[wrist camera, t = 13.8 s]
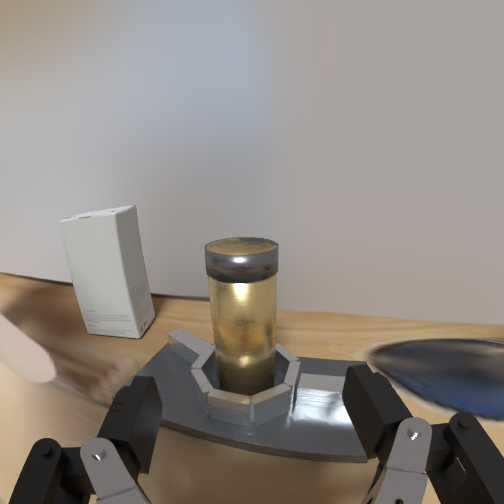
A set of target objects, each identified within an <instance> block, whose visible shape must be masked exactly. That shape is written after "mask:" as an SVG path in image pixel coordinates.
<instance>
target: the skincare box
mask: <svg viewBox="0 0 504 504" xmlns="http://www.w3.org/2000/svg"><path fill="white" fill-rule="evenodd" d="M60 224H61V230H62V236H63V241H64V246H65V251H66V256H67V260H68V265H69V270H70V274H71V278H72V282H73V286H74V289H75V293H76V296H77V300H78V303H79V307H80V310H81V313H82V316H83V319H84V323H85V325H86V329H87V332H88V333H89V334H97V335H107V336H117V337H128V338H141V337H142V335H143V333H144V332H145V330H146V329H147V328H148V327H149V325H150V324H151V323H152V321H153V320H154V318H155V317H154V316H155V312H154V308H153V303H152V299H151V294H150V289H149V284H148V280H147V274H146V269H145V264H144V257H143V252H142V245H141V239H140V233H139V226H138V219H137V211H136V205H134V206H125V207H118V208H111V209H104V210H98V211H91V212H84V213H81V214H78V215H75V216H72V217H69V218H66V219H63V220H61V221H60Z"/></svg>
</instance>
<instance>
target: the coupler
mask: <svg viewBox="0 0 504 504" xmlns="http://www.w3.org/2000/svg"><path fill="white" fill-rule="evenodd" d="M205 260H206V273H207V275H208V280H209V292H210V305H211V316H212V326H213V336H214V346H215V355H216V364H217V373H218V381H219V389H220V390H221V391H226V392H231V393H236V394H241V395H246V396H252V395H255V394H258V393H260V392H263V391H266V390H268V389H271V388H273V387H274V376H275V341H276V280H277V272H278V243H276V242H275V241H272V240H269V239H264V238H255V237H239V238H226V239H221V240H216V241H213V242H210V243H208V244H206V246H205Z"/></svg>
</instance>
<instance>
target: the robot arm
mask: <svg viewBox="0 0 504 504" xmlns="http://www.w3.org/2000/svg"><path fill="white" fill-rule="evenodd" d="M342 401H343V404H344V407H345V409H346V411H347V413H348V415H349V418H350V420H351V422H352V424H353V426H354V429H355V431H356V433H357V435H358V438H359V440H360V442H361V444H362V447H363V449H364V451H365V453H366V456H367V458H368V460H369V459H372V458H376V457H378V459H379V461H380V462H379V464H378V466H377V468H376V471H375V473H374V476H373V478H372V481H371V483H370V485H369V488H368V490H367V492H366V494H365V496H364V498H363V500H362V502H361V504H421V503H422V500H423V496H424V493H425V489H426V485H427V481H428V477H429V479H430V481H431V483H432V485H433V488H434V490H435V492H436V494H437V496H438V499H439V501H440V503H441V504H504V457H503V456H502V454H501V453H500V452H499V450H498V449H497V447H496V446H495V444H494V443H493V441H492V440H491V439H490V437H489V436H488V434H487V433H486V432H485V430H484V429H483V427H482V426H481V425H480V423H479V422H478V421H477V419H476V418H475V417H474V416H473V415H471V414H469V413H465V412H460V413H457V414H455V415H453V416H452V418H451V419H450V421H449V423H443V424H434V425H430V424H429V423H428V422H427V421H426V420H424V419H422V418H418V417H413V416H412V414H411V413H410V411H409V410H408V408H407V407H406V405H405V404H404V403H403V401H402V400H401V398H400V397H399V395H398V394H397V392H396V391H395V389H394V388H392V385H391V384H390V382H389V381H388V379H387V378H386V377H384V376H383V375H381V374H380V373H378V372H376V373H373V372H372V371H371V369H370V368H369V366H368V365H367V364H366V363H363V364H358V365H352V366H349V367H348V368H347V372H346V377H345V382H344V386H343V391H342ZM161 417H162V402H161V399H160V395H159V392H158V389H157V385H156V382H155V379H154V377H153V376H139V375H136V376H135V377H134V378H133V381H132V383H131V385H130V386H124V387H123V388H122V389H120V390H119V391H118V392H117V393H116V395H115V397H114V399H113V402H112V404H111V406H110V408H109V411H108V413H107V415H106V417H105V420H104V422H103V424H102V426H101V429H100V431H99V433H98V436H97V438H93V439H90V440H88V441H86V442H85V443H84V444H83V445H82V447H74V448H62V447H61V446H60V445H59V443H58V442H57V441H55V440H54V439H51V438H43V439H40V440H38V441H37V442H36V443H35V444H34V445H33V447H32V449H31V451H30V453H29V455H28V457H27V460H26V462H25V464H24V466H23V469H22V471H21V473H20V476H19V478H18V480H17V483H16V485H15V488H14V490H13V493H12V496H11V498H10V501H9V504H89V500H90V496H91V495H96V494H97V496H98V499H96V502H97V504H153V503H152V502H151V501H150V499H149V498H148V496H147V495H146V493H145V492H144V490H143V489H142V487H141V485H140V484H139V482H138V481H137V479H138V475H139V473H143V474H148V473H149V468H150V463H151V459H152V454H153V450H154V446H155V441H156V437H157V433H158V429H159V425H160V421H161ZM457 458H458V459H459V461H460V462H459V461H458V459H457ZM460 463H461V464H460ZM461 465H462V466H463V468H464V469H463V468H462V466H461ZM464 470H465V471H464ZM425 471H426V473H427V474H426V473H425ZM465 472H466V473H465Z"/></svg>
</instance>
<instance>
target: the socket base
mask: <svg viewBox="0 0 504 504" xmlns="http://www.w3.org/2000/svg"><path fill="white" fill-rule="evenodd" d="M167 335H168V340H169V342H168V343H167V344H166V345H165V346H164V347H163V348H162V349H161V350H160V351H159V352H158V353H157V354H156V355H155V356H154V357H153V358H152V359H151V360H150V361H149V362H148V363H147V364H146V365H145V366H144V367H143V368H142V369H141V370H140V371H139V372H137V373H136V374H135V375H134V376H133V377H132V378H131V379H130V380H129V381H128V382H127V383H126V384H125V385H124V386H130V385H131V383H132V381H133V378H134V377H135V376H136V375H139V376H153V377H154V379H155V382H156V385H157V389H158V392H159V395H160V399H161V402H162V417H161V421H160V425H163V426H166V427H168V428H171V429H174V430H177V431H180V432H183V433H186V434H189V435H192V436H195V437H198V438H202V439H205V440H208V441H212V442H216V443H219V444H223V445H227V446H231V447H235V448H240V449H244V450H249V451H253V452H258V453H264V454H269V455H275V456H282V457H288V458H296V459H304V460H314V461H326V462H344V463H367V461H368V458H367V456H366V453H365V451H364V449H363V447H362V444H361V442H360V440H359V438H358V435H357V433H356V431H355V429H354V426H353V424H352V422H351V420H350V418H349V415H348V413H347V411H346V409H345V407H344V404H343V401H342V391H343V386H344V382H345V377H346V372H347V368H348V367H349V366H352V365H358V364H363V363H366V364H367V362H364V361H344V360H330V359H317V358H306V357H297V356H295V355H293V354H292V353H291V352H290V351H289V350H287V349H286V348H285V347H284V346H283V345H281V344H280V343H277V344H276V341H275V376H274V387H273V388H271V389H268V390H266V391H263V392H260V393H258V394H255V395H252V396H246V395H241V394H236V393H231V392H226V391H221V390H220V389H219V381H218V373H217V364H216V355H215V346H214V344H209V343H208V342H206V341H204V340H202V339H201V338H199V337H197V336H196V335H194V334H192V333H191V332H189V331H187V330H186V329H184V328H182V327H181V328H178V329H176V330H174V331H171V332H169V333H167ZM124 386H123V387H124ZM123 387H122V388H123ZM122 388H121V389H122ZM115 395H116V394H115ZM115 395H114V396H113V397H112V398H113V399H114V397H115Z"/></svg>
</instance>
